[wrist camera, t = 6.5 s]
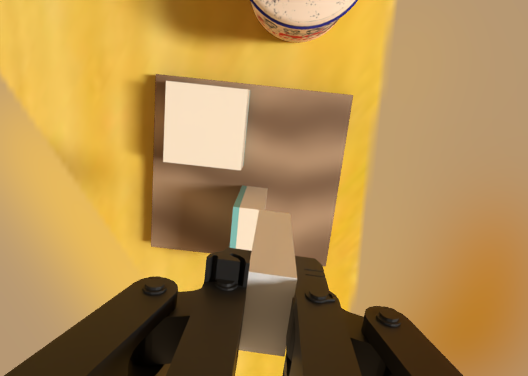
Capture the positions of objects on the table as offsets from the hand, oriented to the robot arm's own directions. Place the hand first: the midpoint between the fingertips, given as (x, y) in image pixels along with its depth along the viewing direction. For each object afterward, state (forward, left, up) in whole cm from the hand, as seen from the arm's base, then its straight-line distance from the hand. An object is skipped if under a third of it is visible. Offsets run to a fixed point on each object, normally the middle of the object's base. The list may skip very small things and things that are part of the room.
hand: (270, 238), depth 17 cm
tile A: (-3, -3, -17) cm, 17 cm away
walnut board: (+1, -3, -19) cm, 19 cm away
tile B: (+6, -2, -18) cm, 19 cm away
